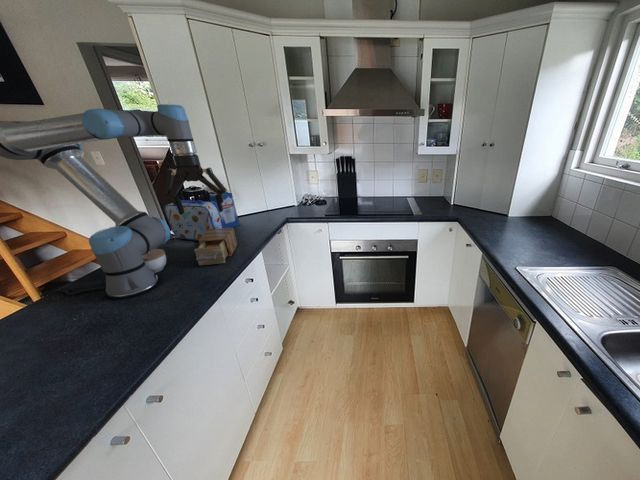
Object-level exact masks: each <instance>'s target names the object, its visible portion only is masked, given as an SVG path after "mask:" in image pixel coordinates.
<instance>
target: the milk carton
mask: <svg viewBox="0 0 640 480" xmlns="http://www.w3.org/2000/svg"><path fill="white" fill-rule="evenodd" d="M215 195H216V193H213V194H209V195H208V196H209V199H210V202H213V203H215V204H216V205H217V206H218V204H217V201H216V197H215ZM222 196H223V200H224V202H223V203H222V207H223V211H222V212H221V213H222V215H223V217H222V223H223V227H224V228H234V227H237V226H240V222H239V218H238V213H237V210H236V204H235V200H234V197H233V193H232V192H228V191H226V192H225V193H223V194H222Z"/></svg>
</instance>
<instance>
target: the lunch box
mask: <svg viewBox="0 0 640 480" xmlns="http://www.w3.org/2000/svg"><path fill="white" fill-rule="evenodd" d="M180 200H181V203H182V206H183V209H184V213H183V214H181V215H180V214H179V211H178V208H177V205H175V206H174V204H173V202H171V203H168V204H166V205H165V206H164V208H163V210H164V214H165V216H166V219H167V223H169V226H170V227H169V228H170V230H171V231H172V233H173V235H174V236H175V237H176V238H179V239H182V240H183V239H184V240H191V241H199V239H200V238H201V237H202V236H203V235H204V233H205V232H206V231H207V230H208V229H219V228H224V227H223V223H222V217H223V215H222V213H221V212H219V208H218V206H217V205H216V204H215V203H213V202H211V201H206V200H205V201H204V200H202V199H201V200H200V199H199V200H190V199H189V200H187V199H180Z"/></svg>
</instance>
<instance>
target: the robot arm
mask: <svg viewBox="0 0 640 480" xmlns="http://www.w3.org/2000/svg"><path fill="white" fill-rule="evenodd" d="M156 108H157V110H155V111H154V110H153V111H149V110H125V109H124V110H123V109H107V108H91V109H86V110H85V111H84V112H82V113H81V112H79V113H75V114H68V115H62V116H56V117H49V118H44V119H43V118H42V119H37V120H36V119H35V120H31V121H30V120H29V121H28V120H27V121H25V120H24V121H23V120H17V121H16V120H0V157H1V158H3V159H8V160H12V161H13V160H14V161H30V160H31V161H32V160H38V161H39V162H40V163H41V164H42V165H43V166H44V167H46V168H47V169H52V170H55V171H58V173H59V174H61V176H63V177H64V178H65V179H66V180H67V181H68V182H70V184H72V185H73V187H75V188H76V189H77V190H78V191H79V192H81V194H83V195H84V196H85V197H86V198H87V199H88V200H89V201H90V202H92V203H93V204H94V205H95V206H96V207H97V208H98V209H99V210H100V211H102V212H103V213H104V215H106V216H107V217H108V218H109V219H110V220H112V221H113V223H114V225H115V226H110V227H108V228H103V229H100V230H98V231H96V232H94V233H93V234H91V235H90V237H89V238H88V243H89V246H90V250H91V252H92V253H93V255H94V257H95V258H96V261H97V262H98V264H99V266H100V268H101V270H102V272H103V275H105V285H104V286H97V287H92V288H87V289H83V290H79V291H75V292H74V291H73V292H69V290H66V289H55V290H54V289H52V290H48V291H45V292H43V293H42V294H40V296H39V297H40V298H43V297H45V296H46V295H47V294H48V295H49V294H53V293H55V292H54V291H57V290H59V291H57V292H56V293H65V294H66V295H68V296H73V295H79V294H84V293H87V292H92V291H97V290H103V289H105V293H106V295H107V297H108V298H110V299H114V300H115V299H116V300H119V299H121V300H122V299H128V298H133V297H136V296H140V295H143V294H145V293H147V292H149V291H151V290H152V289H154V288H155V287H156V286H157V285H158V284H159V283H160V280H159V277H158V275H157V274H155V273H153V272H152V271H151V270H150V269H149V268H148V267H147V266H146V264H145V262H144V260H143V257H142V255H144V254H146V253H148V252H150V251H152V250H154V249H158V248H160V247H162V246H163V245H164V244H166V243H167V242H168V241H169V240H170V238H171V228H170V227H169V225H168V223H167V222H165V220H163V219H162V218H160V217H157V216H150V214H148V213H147V212H146V211H143V210H138V209H137V208H136V207H135V206H134V205H133V204H132V203H131V202H130V201H129V200H128V199H127V198H126V197H125V196H124V195H123V194H121V193H120V192H119V191H118V189H116V188H115V187H114V186H113V185H112V184H111V183H110V182H109V181H108V180H107V179H106V178H105V177H104V176H103V175H102V174H101V173H100V172H98V171H97V170H96V168H94V166H92V164H90V162H88V161H87V160H86V159H85V158H84V154H85V153H84V151H83V150H82V149H83V145H82V144H86V143H91V142H92V143H93V142H97V141H104V140H112V139H121V138H135V137H162V136H163V137H166V140H167V143H168V147H169V149H170V152H171V154H172V155H173V156H172V159H173V162H174V165H175V168H176V169H173V168H168V169H166V175H167V177H166V180H165V185H164V190H163V196H165V197H170V198H171V201H172V203H173V204H174V206H175V205H177V208H178V211H179V214H180V215H181V214H183V213H184V209H183V206H182V203H181V200H182V199H181V197H180V195H178V193H179V191H180V190H181V188H182V187H183V185H184V184H185V182H189V183H190V182H201V184H203V185H205V186H206V187H207V188H208V189H210V190H211V191H213V192H214V194H216V195H215V197H216V201H217V204H218V208H219V212H222V211H223V207H222V203H223V202H224V200H223V196H222V194H223V193H225V192H228V191H227V188H226V187H225V186H224V185H223V183H222V182H221V181H220V180H219V179H218V177H217V176H216V175H215V174H214V171H213V170H212V167H206V168H202V165H201V161H200V158H199V155H198V154H197V153H198V150H197V148H196V144H195V140H194V137H193V134H192V130H191V125H190V121H189V117H188V116H187V113H186V109H185V107H184V106H183V105H181V104H157V106H156ZM204 173H205V175H207V176H208V177H209V179H210V180H211V181H212V182H211V181H209V180H208V179H207V177H205V176H204ZM176 174H177V175H178V176H179V179H178V180H177V182H176V184H175V186H174V187H173V184H174V179H175V176H176ZM213 183H214V184H213ZM172 187H173V189H172ZM60 290H61V291H60Z"/></svg>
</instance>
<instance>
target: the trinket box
mask: <svg viewBox="0 0 640 480" xmlns="http://www.w3.org/2000/svg"><path fill="white" fill-rule="evenodd" d="M142 257H143V260H144V262H145V264H146V266H147V267H148V268H149V269H150V270H151V271H152V272H153V273H154V274H155V273H158V272H161V271H163V270H164V268H165V266H166V264H167V255H166V252H165V250H164V249H162V248H155V249H154V250H152V251H150V252H148V253H146V254H144V255H142Z"/></svg>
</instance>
